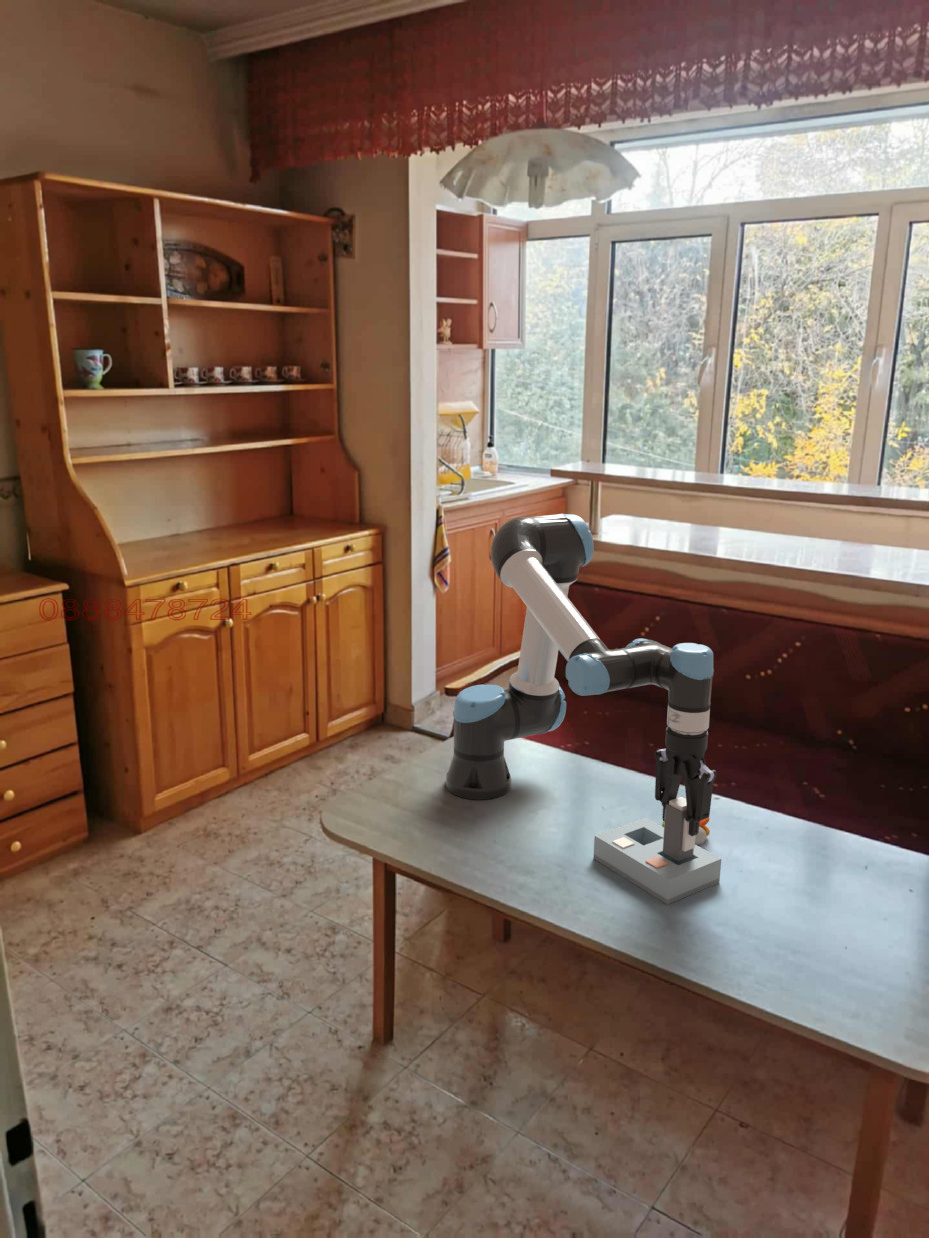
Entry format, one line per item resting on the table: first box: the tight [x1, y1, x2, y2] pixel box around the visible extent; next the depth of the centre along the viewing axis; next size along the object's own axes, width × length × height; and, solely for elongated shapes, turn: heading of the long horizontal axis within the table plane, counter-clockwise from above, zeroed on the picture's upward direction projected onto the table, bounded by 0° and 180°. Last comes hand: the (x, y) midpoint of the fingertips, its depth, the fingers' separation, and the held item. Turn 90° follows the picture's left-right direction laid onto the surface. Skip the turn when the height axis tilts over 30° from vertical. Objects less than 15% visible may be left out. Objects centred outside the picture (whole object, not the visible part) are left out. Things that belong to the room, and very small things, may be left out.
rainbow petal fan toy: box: [661, 817, 710, 846], centre depth 194 cm, size 8×10×7 cm
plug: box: [663, 796, 694, 861], centre depth 176 cm, size 4×4×11 cm
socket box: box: [593, 817, 722, 905], centre depth 181 cm, size 20×14×5 cm
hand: (678, 843), depth 177 cm, fingers closed on plug, 4 cm apart
